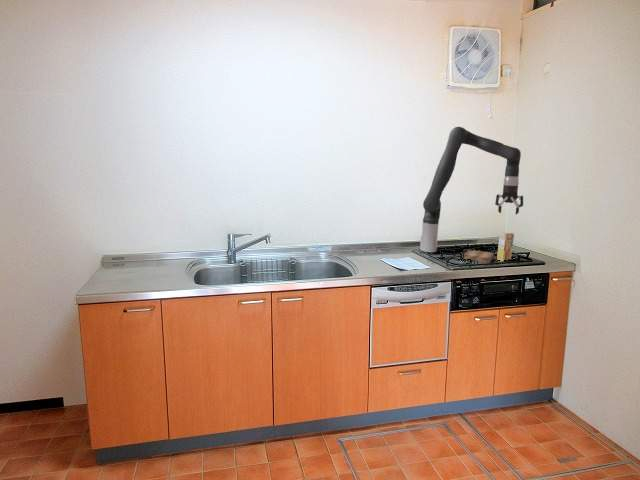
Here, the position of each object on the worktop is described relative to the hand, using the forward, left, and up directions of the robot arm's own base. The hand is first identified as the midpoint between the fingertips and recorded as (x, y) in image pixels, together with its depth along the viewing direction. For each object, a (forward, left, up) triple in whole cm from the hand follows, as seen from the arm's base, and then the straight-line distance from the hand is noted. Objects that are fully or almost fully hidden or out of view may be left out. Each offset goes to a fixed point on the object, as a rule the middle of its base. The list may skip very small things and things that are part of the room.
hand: (508, 213), depth 260 cm
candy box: (0, 0, -27) cm, 27 cm away
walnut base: (-13, -6, -27) cm, 30 cm away
